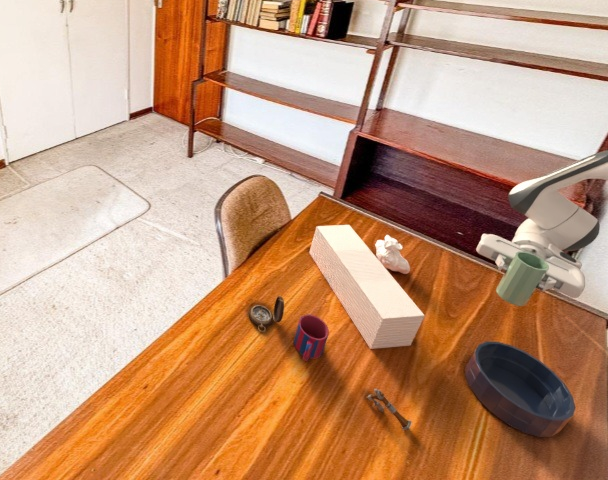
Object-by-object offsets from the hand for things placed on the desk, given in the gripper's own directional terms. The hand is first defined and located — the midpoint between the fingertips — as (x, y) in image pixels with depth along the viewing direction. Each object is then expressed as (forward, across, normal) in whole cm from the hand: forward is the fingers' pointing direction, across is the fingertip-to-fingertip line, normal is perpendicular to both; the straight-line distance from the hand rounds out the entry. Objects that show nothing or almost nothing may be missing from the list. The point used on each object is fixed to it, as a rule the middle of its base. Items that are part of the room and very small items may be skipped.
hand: (521, 278), depth 96 cm
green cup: (-1, 0, +7) cm, 7 cm away
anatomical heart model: (-1, -27, +17) cm, 32 cm away
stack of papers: (+19, -28, +17) cm, 38 cm away
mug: (+45, -28, +17) cm, 56 cm away
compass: (+46, -40, +17) cm, 63 cm away
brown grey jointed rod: (+45, -10, +17) cm, 49 cm away
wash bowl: (+19, +6, +17) cm, 26 cm away
